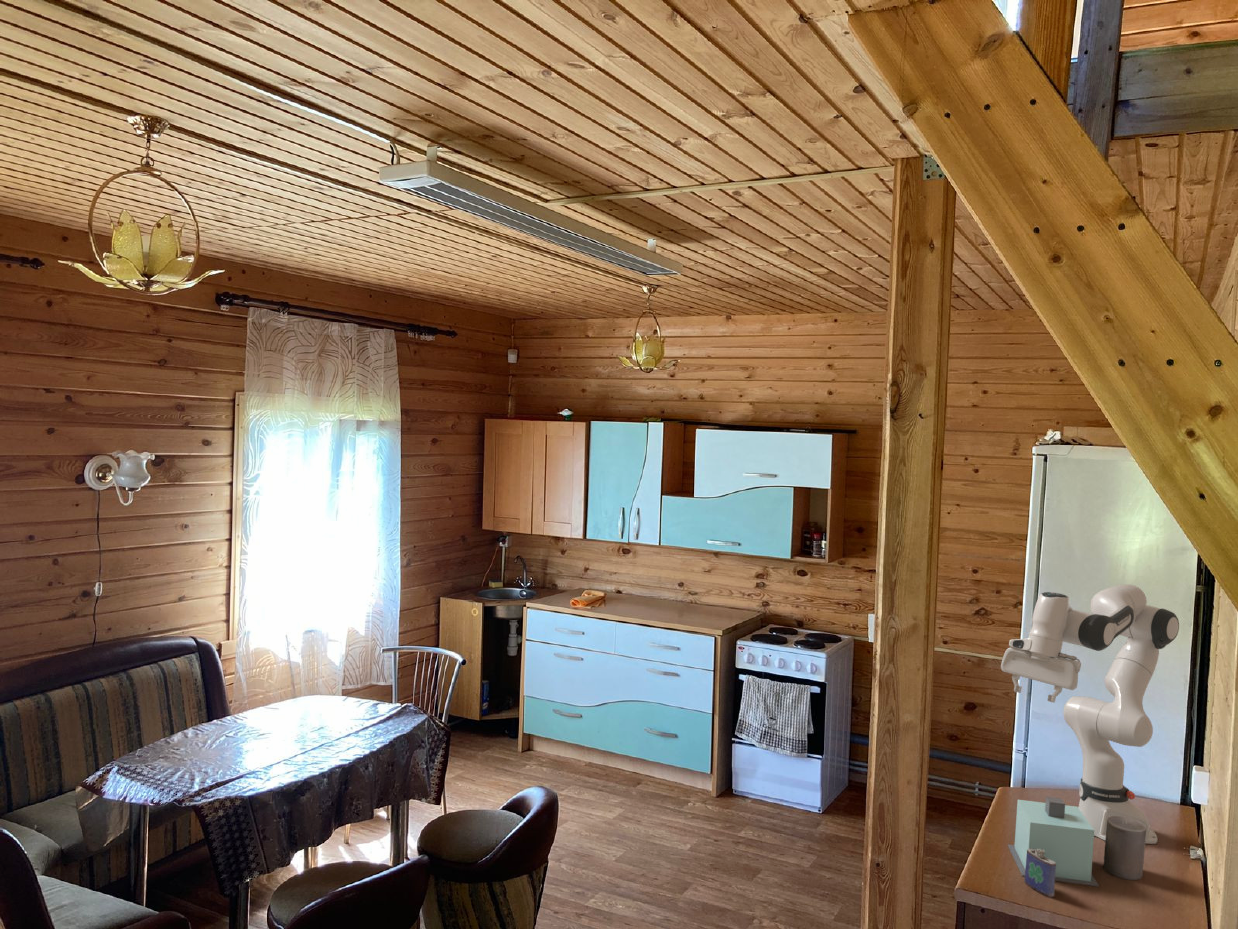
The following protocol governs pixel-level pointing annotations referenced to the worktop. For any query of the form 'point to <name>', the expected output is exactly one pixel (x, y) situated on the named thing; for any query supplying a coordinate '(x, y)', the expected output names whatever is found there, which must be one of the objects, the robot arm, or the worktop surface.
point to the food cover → (1056, 836)
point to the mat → (1022, 871)
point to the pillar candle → (1124, 847)
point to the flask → (1040, 872)
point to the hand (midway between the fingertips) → (1033, 697)
